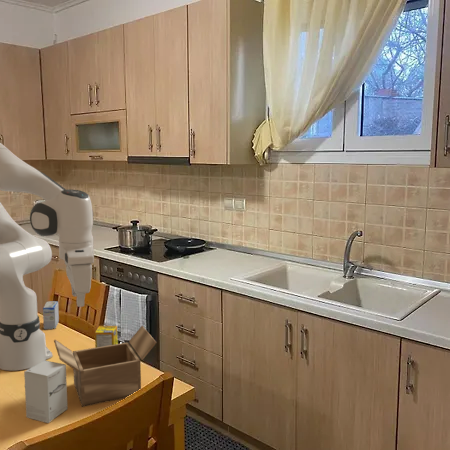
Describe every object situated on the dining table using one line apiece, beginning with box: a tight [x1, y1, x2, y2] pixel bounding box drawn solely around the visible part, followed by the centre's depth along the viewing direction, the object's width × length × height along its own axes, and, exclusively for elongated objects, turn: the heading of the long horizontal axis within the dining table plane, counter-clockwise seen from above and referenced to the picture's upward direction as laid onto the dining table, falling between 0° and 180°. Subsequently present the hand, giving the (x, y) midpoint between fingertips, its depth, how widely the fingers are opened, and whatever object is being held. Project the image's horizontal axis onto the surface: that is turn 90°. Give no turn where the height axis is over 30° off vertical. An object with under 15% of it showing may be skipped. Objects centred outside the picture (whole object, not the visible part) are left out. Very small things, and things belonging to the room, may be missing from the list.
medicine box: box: [42, 300, 60, 330], centre depth 185 cm, size 8×4×9 cm, turn 10°
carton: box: [72, 341, 142, 408], centre depth 136 cm, size 14×16×10 cm
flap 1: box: [53, 339, 79, 372], centre depth 131 cm, size 14×6×1 cm
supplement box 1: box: [23, 360, 68, 424], centre depth 123 cm, size 7×7×13 cm
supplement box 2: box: [94, 325, 119, 348], centre depth 155 cm, size 6×6×11 cm
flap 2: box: [128, 325, 158, 361], centre depth 140 cm, size 14×6×1 cm
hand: (78, 300), depth 131 cm, fingers open, 8 cm apart
